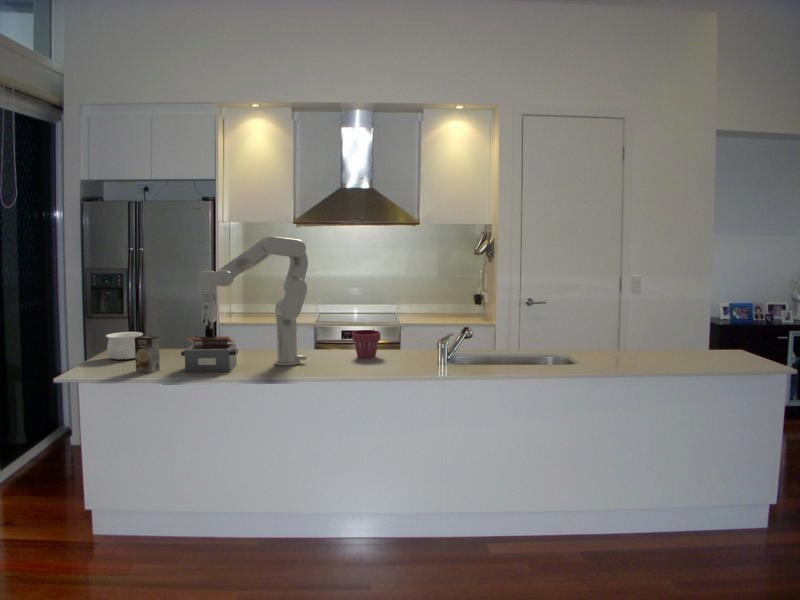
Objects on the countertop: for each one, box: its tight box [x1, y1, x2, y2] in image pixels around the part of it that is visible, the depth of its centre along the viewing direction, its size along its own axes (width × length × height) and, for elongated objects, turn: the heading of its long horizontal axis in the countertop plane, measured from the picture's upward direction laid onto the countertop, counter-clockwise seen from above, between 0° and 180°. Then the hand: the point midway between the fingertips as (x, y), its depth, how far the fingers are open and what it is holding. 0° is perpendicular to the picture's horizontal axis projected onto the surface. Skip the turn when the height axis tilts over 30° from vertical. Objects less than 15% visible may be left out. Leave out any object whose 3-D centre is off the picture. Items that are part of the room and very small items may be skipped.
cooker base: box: [180, 343, 239, 373], centre depth 325 cm, size 25×17×10 cm
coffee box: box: [134, 334, 161, 374], centre depth 320 cm, size 9×6×16 cm
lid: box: [186, 335, 236, 344], centre depth 325 cm, size 19×16×3 cm
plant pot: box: [351, 329, 381, 360], centre depth 352 cm, size 14×14×13 cm
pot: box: [105, 331, 144, 361], centre depth 352 cm, size 22×17×12 cm
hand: (209, 337), depth 322 cm, fingers closed
